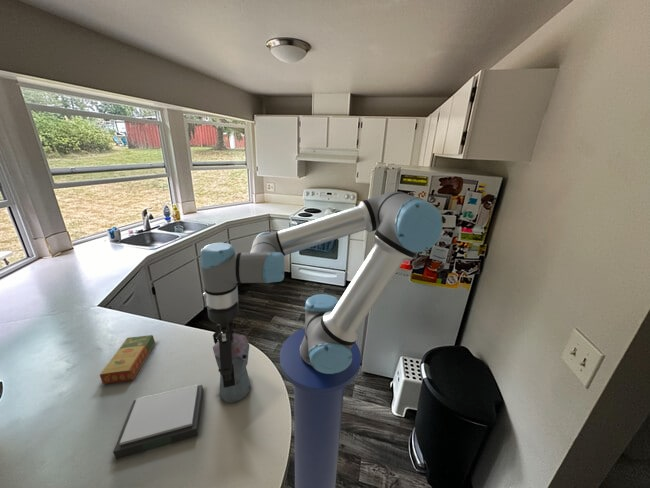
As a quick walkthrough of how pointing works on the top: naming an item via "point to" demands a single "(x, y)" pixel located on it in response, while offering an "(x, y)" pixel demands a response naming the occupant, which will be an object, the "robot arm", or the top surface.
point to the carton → (127, 359)
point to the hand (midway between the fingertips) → (230, 365)
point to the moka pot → (235, 368)
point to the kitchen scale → (160, 420)
